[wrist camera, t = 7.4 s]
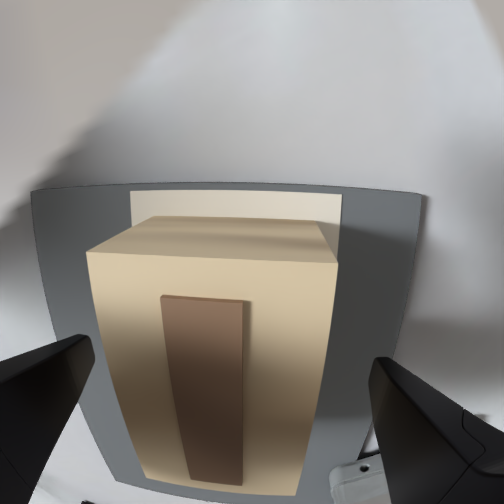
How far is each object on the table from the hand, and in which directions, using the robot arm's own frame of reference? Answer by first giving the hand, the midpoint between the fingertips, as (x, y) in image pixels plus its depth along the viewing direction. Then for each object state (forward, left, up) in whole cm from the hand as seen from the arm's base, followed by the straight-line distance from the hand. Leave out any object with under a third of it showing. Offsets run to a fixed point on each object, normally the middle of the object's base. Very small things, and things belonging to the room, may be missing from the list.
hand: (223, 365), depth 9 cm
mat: (-4, +1, -2) cm, 5 cm away
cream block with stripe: (0, 0, -2) cm, 2 cm away
